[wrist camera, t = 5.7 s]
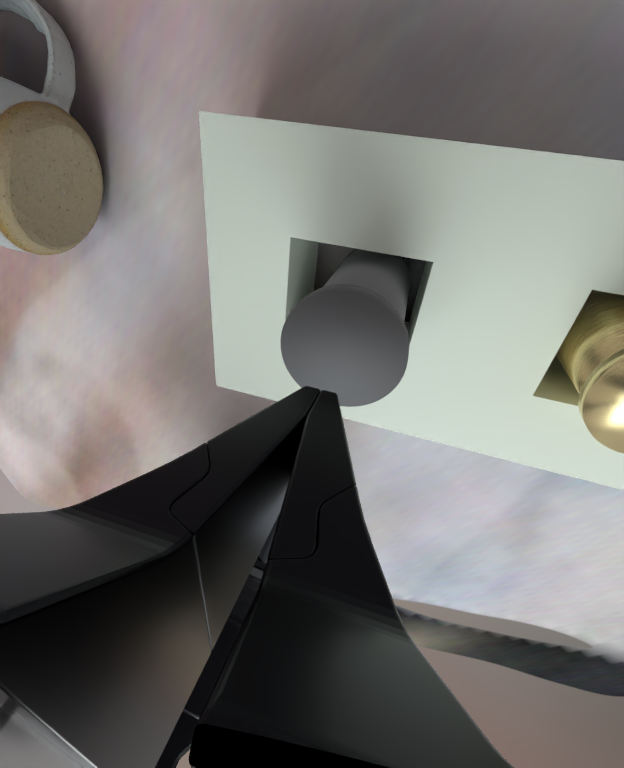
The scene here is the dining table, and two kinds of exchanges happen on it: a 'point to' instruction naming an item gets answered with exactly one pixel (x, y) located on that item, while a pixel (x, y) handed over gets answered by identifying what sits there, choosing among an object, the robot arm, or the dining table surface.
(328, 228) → the block
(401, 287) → the graphite plug
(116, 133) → the dining table surface
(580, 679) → the dining table surface
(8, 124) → the ceramic mug
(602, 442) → the brass plug
